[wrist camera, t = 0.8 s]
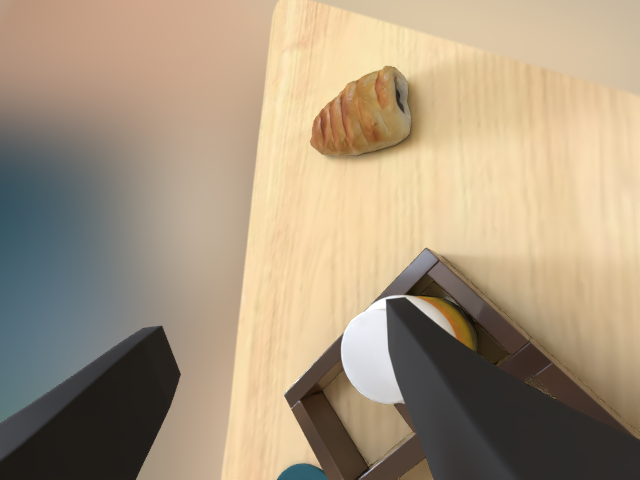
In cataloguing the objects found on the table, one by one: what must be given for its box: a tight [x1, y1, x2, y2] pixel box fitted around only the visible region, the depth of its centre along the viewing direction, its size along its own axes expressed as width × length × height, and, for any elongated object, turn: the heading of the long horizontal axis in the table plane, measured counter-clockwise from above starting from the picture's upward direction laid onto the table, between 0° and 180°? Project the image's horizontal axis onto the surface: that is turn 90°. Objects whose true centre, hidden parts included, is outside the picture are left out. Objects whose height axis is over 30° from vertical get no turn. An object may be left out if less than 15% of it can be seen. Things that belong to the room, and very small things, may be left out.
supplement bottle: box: [341, 295, 478, 404], centre depth 17 cm, size 5×5×10 cm
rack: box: [284, 248, 640, 480], centre depth 19 cm, size 16×16×3 cm
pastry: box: [310, 66, 411, 156], centre depth 26 cm, size 9×7×4 cm
